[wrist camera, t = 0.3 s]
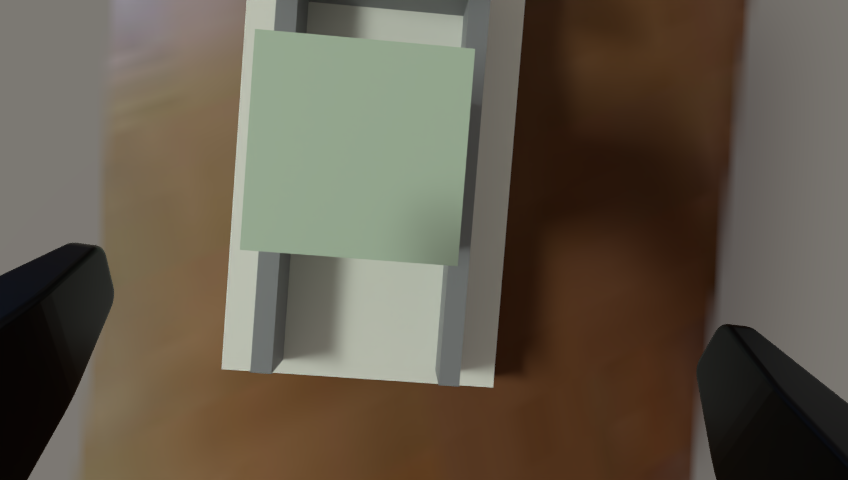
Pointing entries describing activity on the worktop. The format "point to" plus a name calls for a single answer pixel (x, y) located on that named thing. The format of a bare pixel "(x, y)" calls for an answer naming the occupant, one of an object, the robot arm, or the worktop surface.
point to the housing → (374, 279)
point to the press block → (356, 148)
